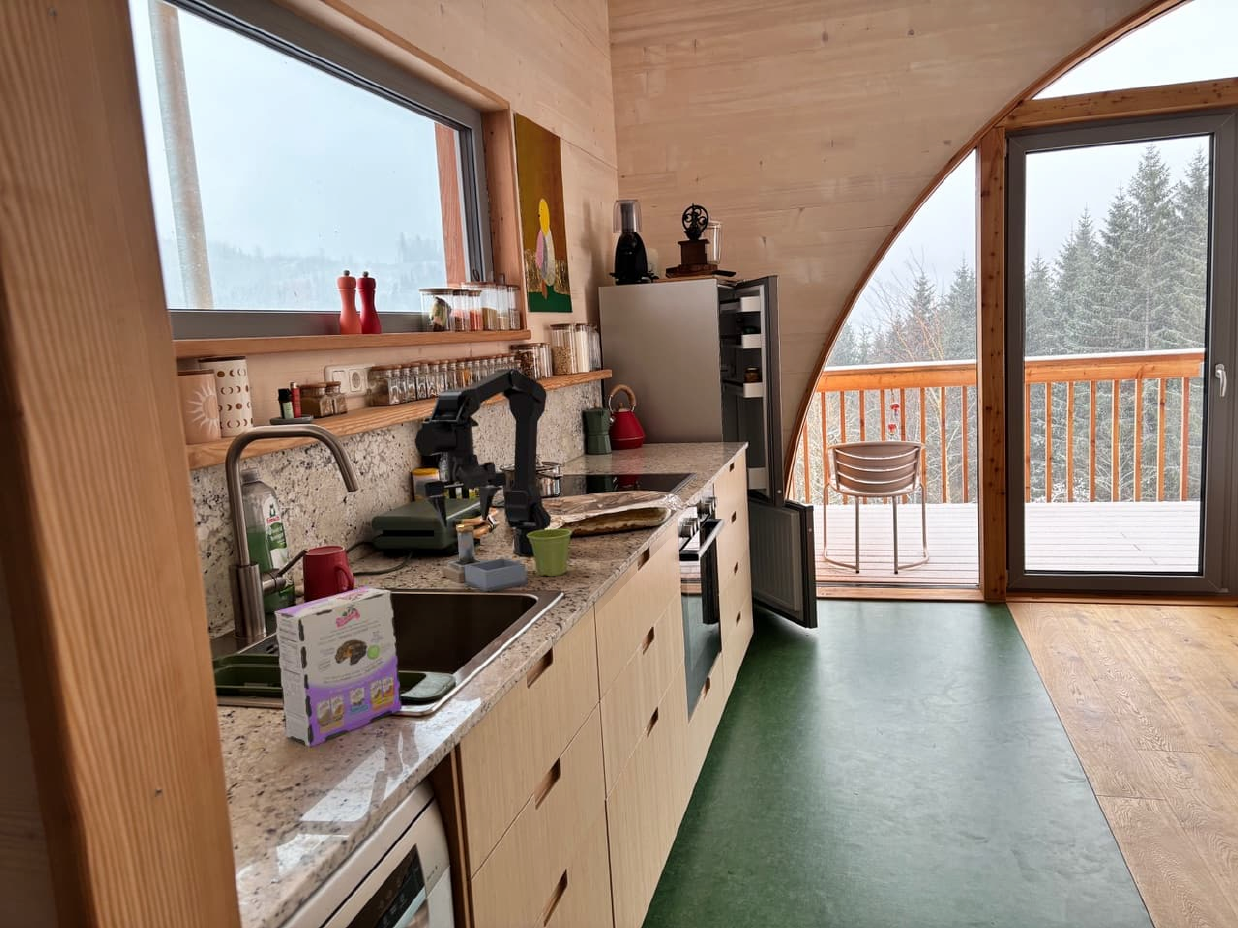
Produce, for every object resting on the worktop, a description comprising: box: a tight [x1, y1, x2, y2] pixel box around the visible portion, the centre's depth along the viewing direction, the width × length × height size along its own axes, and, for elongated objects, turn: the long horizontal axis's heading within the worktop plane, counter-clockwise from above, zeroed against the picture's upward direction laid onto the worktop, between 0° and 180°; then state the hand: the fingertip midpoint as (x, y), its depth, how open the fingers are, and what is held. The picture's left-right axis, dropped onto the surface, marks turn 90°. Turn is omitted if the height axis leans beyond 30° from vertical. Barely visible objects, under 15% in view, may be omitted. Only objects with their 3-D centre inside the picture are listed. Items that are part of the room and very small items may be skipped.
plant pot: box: [527, 528, 573, 577], centre depth 193 cm, size 9×9×9 cm
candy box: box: [274, 585, 403, 748], centre depth 117 cm, size 14×6×16 cm, turn 140°
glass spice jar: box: [455, 522, 476, 566], centre depth 194 cm, size 4×4×9 cm
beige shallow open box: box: [441, 557, 484, 583], centre depth 195 cm, size 8×8×3 cm
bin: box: [465, 557, 527, 592], centre depth 187 cm, size 9×9×4 cm
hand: (464, 523), depth 194 cm, fingers open, 9 cm apart
